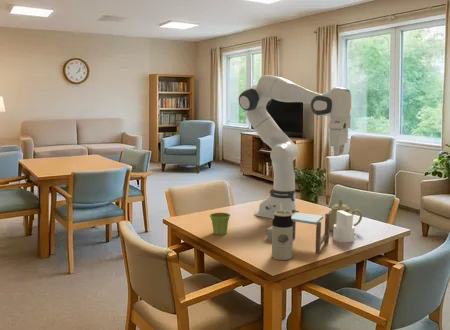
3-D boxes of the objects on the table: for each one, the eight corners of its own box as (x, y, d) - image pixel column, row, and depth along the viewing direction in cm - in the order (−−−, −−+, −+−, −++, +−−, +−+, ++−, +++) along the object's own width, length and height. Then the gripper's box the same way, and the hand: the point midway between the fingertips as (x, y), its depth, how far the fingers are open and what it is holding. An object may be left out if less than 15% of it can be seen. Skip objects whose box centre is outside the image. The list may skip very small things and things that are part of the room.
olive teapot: (358, 226, 220) (359, 196, 217) (361, 233, 209) (363, 201, 207) (326, 225, 222) (327, 195, 219) (328, 232, 211) (330, 200, 209)
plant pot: (215, 237, 202) (215, 218, 201) (206, 231, 211) (206, 213, 209) (233, 234, 207) (233, 216, 205) (224, 229, 215) (224, 211, 214)
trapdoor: (280, 221, 190) (280, 216, 189) (288, 215, 199) (289, 211, 199) (315, 227, 183) (316, 222, 183) (322, 220, 193) (323, 215, 192)
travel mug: (273, 252, 183) (274, 209, 180) (293, 254, 181) (294, 211, 178) (269, 259, 175) (270, 214, 173) (290, 261, 173) (291, 216, 170)
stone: (267, 239, 200) (267, 229, 199) (270, 236, 204) (271, 226, 203) (277, 241, 197) (278, 230, 197) (281, 238, 202) (281, 227, 201)
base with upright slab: (358, 241, 198) (359, 214, 196) (339, 243, 195) (341, 216, 193) (347, 235, 206) (348, 209, 204) (329, 237, 204) (330, 211, 202)
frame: (280, 247, 189) (280, 217, 187) (292, 237, 203) (292, 209, 201) (319, 254, 181) (320, 222, 179) (328, 242, 196) (329, 213, 194)
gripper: (338, 122, 212) (337, 151, 214) (327, 124, 194) (326, 156, 196) (352, 123, 209) (350, 152, 211) (342, 125, 191) (340, 157, 193)
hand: (338, 154), depth 204 cm, fingers open, 8 cm apart
